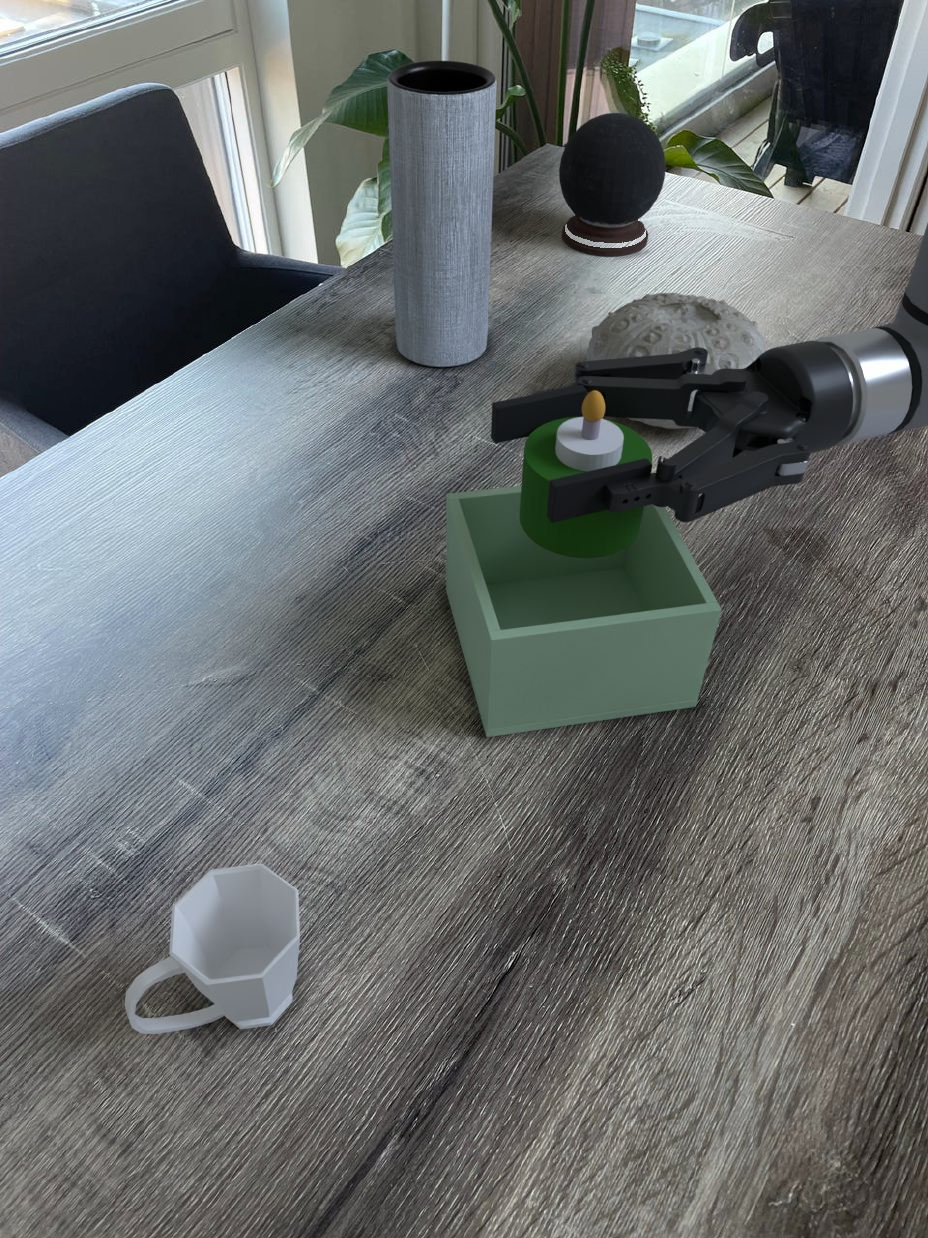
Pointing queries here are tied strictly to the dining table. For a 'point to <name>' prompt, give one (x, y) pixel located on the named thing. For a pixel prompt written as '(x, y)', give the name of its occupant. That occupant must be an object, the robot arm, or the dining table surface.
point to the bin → (573, 619)
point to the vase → (441, 208)
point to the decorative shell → (677, 334)
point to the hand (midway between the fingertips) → (521, 460)
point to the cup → (229, 950)
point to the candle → (574, 452)
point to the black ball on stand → (611, 182)
